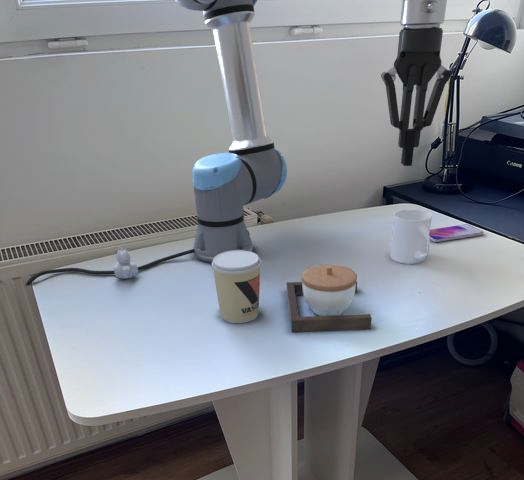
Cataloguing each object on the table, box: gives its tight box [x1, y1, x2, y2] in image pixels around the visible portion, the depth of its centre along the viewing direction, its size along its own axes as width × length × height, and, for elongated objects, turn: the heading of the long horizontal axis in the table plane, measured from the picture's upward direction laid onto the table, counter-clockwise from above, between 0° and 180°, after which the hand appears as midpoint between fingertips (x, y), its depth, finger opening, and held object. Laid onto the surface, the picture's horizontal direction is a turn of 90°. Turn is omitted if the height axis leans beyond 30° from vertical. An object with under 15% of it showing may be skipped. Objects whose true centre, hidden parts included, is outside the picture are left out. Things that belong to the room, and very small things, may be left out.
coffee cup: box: [211, 250, 262, 324], centre depth 100 cm, size 9×9×12 cm
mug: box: [389, 208, 433, 265], centre depth 120 cm, size 9×12×11 cm
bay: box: [285, 281, 372, 333], centre depth 103 cm, size 15×17×2 cm
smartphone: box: [429, 223, 484, 243], centre depth 136 cm, size 7×1×15 cm
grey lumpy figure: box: [113, 245, 139, 280], centre depth 118 cm, size 5×7×8 cm
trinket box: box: [301, 263, 358, 316], centre depth 101 cm, size 11×11×9 cm
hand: (406, 164), depth 103 cm, fingers closed
